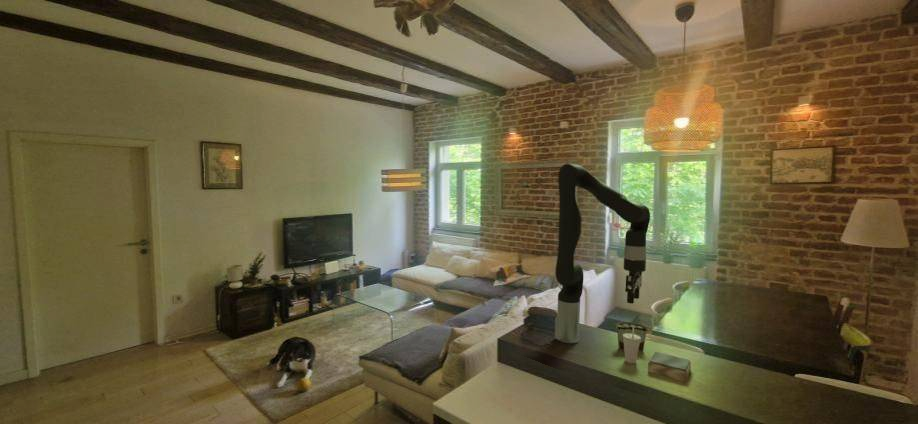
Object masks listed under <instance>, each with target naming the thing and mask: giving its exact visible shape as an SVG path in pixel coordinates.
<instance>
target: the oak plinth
mask: <svg viewBox="0 0 918 424" xmlns="http://www.w3.org/2000/svg"><path fill="white" fill-rule="evenodd" d="M691 369H692V361H690V359H687V358H683V357H678V356H675V355H672V354H671V355H670V354H666V353H663V352H657V351H654V352H653V354H652V355H651V357H650V359H649V360H648V363H647V372H648V371H649V372H648V373H650V372H652V373H651V374H654V373H657V374H656V375H658V374H659V375H658V376H662V375H663V376H662V377H665V376H666V378H669V377H670V379H673V380H677V381H681V382H685V383H687V382H688V379H689V376H690V374H691V372H692V370H691Z"/></svg>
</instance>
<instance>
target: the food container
mask: <svg viewBox="0 0 918 424" xmlns="http://www.w3.org/2000/svg"><path fill="white" fill-rule="evenodd" d="M633 325H634V334H635V335H638V336H640V337H641V341H640V343H639V349H638V352H644V351H645V350H644V348H645V342H646V335H647V333H648V332H649V329H648V327H647V326H646V325H644V324H641V323H638V322H634V321H632V322H631V321H620V322H617V324H616V326H615V330H616V332H617V344H618V350H619V351H624V339H623V338H622V337H623V334H626V333H630V334H632V329H633Z"/></svg>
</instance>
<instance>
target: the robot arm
mask: <svg viewBox="0 0 918 424" xmlns="http://www.w3.org/2000/svg"><path fill="white" fill-rule="evenodd" d="M557 183H558V194H559V195H558V197H559V198H558V199H559V208H558V209H559V210H558V211H559V214H558V242H557V243H558V244H557V255H556V256H557V257H556V258H557V259H556V262H555V263H556V264H555V279H556V281H557V283H558V284H559V285H560V286H561V287H562V288H561V289H560V290H559V291H558V294H557V311H556V312H557V313H556V314H557V316H556V317H555V319H554V320H555V321H554V325H555V326H554V339H555V340H557V341H559V342H560V343H564V344H577V343H578V342H579V340H580V317H581V313H580V312H581V311H580V309H581V297H582V294H583V290H584V286H583V285H584V271H583V268H582V266H581V265H580V264H579V263H577V262H575V261H574V259H575V252H576V248H577V246H578V243H579V240H580V238H581V234H582V215H581V211H580V209H579V206H578V203H577V199H576V187H578V188H581V189H583V190H586V191H587V192H589V193H590V194H592V195H593V197H594V198H596V200H597V201H598V202H599V203H601V204H602V205H604V206H606V207H607V208H608V209H610V210H612V211H614V213H616V215H618V216H619V217H620V218H621V219H622V220H624V221H626V222H627V223H630V225H629V226H630V227H629V229H628V230H627V231H626V233H625V239H624V240H625V241H624V242H625V243H624V244H625V245H624V252H623V270H625V271H627V272H628V274H626V276H625V293H626V294H627V295H626V302H627V303H628V304H634V302H635V299H637V300H639V299H640V290H641V287H642V284H643V283H642V275H643V273H644V272H646V267H647V265H646V263H647V247H646V246H647V233H648V229H649V225H650V220H651V212H650V208H648V207H647V206H646V205H645V204H641V203H640V204H635V203H634V202H631V201H630V200H628V197H626V195H624V194H623V193H621V192H619V191H617V190H615V189H614V188H612V187H611V186H609V185H607V184H606V183H604V182H602V181H601V180H600V179H598V178H596V177H595V176H594V175H593V174H592V173H590V171H588V170H587V169H585V167H584V166H582V165H580V164H574V163H565V164H563V165H562V166H561V167H560V168H559V170H558V182H557Z"/></svg>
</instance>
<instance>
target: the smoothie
mask: <svg viewBox="0 0 918 424" xmlns="http://www.w3.org/2000/svg"><path fill="white" fill-rule="evenodd" d="M622 338H623V339H624V350H623V351H624V359H625V362H626V363H628V364H632V363H634V364H636V363H637V359H638V355H639V354H638V353H639V351H638V349H639V343H640V341H641V337H640V336H638V335H635V334H634V325H633V329H632V334H630V333H626V334H623V337H622Z"/></svg>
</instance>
